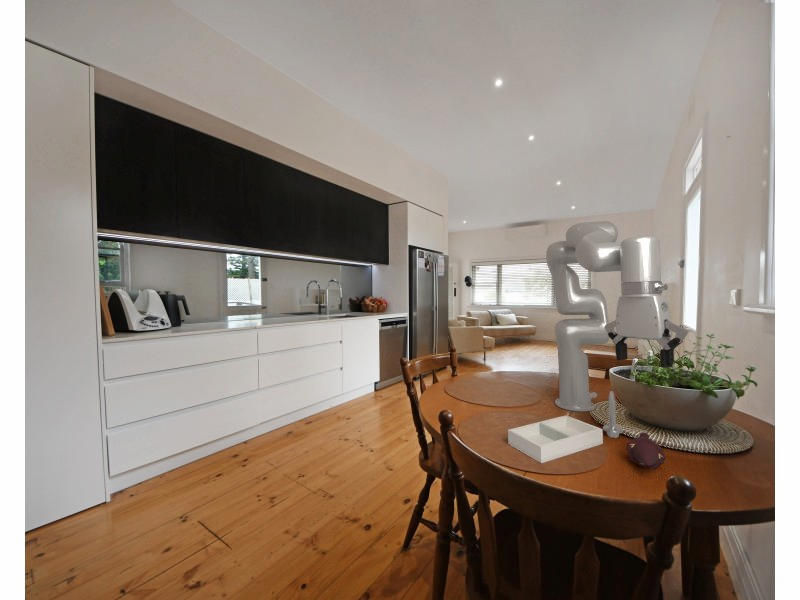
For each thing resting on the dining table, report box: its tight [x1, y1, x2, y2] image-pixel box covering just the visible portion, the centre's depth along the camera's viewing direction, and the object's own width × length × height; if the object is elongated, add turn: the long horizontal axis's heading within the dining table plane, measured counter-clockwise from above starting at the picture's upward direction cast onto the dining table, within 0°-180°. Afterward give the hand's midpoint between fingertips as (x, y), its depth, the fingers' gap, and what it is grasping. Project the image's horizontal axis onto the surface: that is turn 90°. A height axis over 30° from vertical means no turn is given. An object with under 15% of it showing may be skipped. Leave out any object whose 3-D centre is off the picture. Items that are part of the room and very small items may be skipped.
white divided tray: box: [507, 415, 604, 464], centre depth 89 cm, size 22×12×4 cm, turn 113°
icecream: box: [625, 432, 667, 470], centre depth 76 cm, size 7×7×15 cm
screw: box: [602, 390, 624, 439], centre depth 92 cm, size 13×5×5 cm
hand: (643, 363), depth 76 cm, fingers open, 9 cm apart
